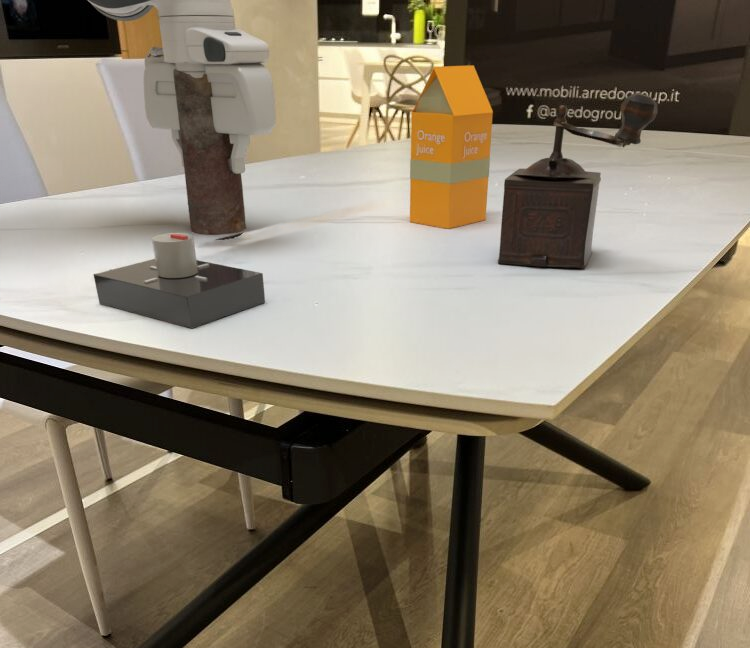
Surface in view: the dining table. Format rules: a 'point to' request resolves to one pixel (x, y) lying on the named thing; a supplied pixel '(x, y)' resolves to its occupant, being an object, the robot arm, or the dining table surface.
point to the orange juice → (450, 149)
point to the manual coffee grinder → (561, 196)
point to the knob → (175, 255)
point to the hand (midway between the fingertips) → (213, 170)
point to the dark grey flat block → (181, 292)
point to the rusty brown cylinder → (207, 162)
